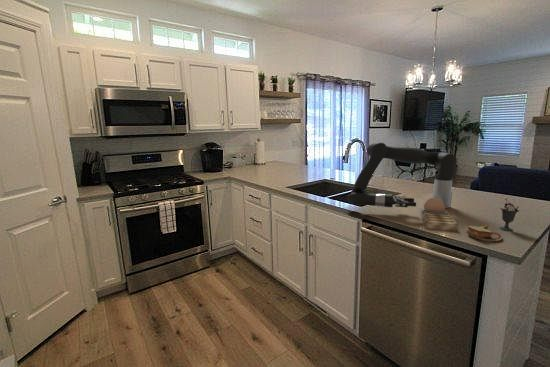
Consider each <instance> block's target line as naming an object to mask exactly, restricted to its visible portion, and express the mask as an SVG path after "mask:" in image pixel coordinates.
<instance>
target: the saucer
mask: <svg viewBox="0 0 550 367" xmlns="http://www.w3.org/2000/svg"><path fill="white" fill-rule="evenodd" d="M423 209H424V210H425V211H429V212H442V213H443V212H444V211H446V208H445V204H444V203H443V201H442V200H440V199H438V198H433V197H431V198H429V199H427V200H426V201H425V202H424V204H423Z"/></svg>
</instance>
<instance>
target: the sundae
mask: <svg viewBox="0 0 550 367" xmlns="http://www.w3.org/2000/svg"><path fill="white" fill-rule="evenodd" d="M504 200H505V203H504V205H503V206H501V207H500V210H501V214H502V215H501V217H502V221H503V222H505V224H504V226H501V227H499V229H500V230H502V231H505V232H513V231H514V229H513V228H511V227H509V225H510V223H512V222H513V221H514V220H515V217H516V214H517V213H519V212H520V210H519V207H520V206H517V207H516V206H515V205H514V204H513V203H511V202H509V200H507V198H505V199H504ZM507 202H508V203H507Z"/></svg>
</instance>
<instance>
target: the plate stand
mask: <svg viewBox="0 0 550 367" xmlns="http://www.w3.org/2000/svg"><path fill="white" fill-rule="evenodd" d="M423 213H428V214H441V215H449V214H448V212H447V211H446V210H445V211H444V212H443V213H442V212H429V211H425V210H424V208H420V213H419V214H420V217H421V218H422V215H423Z"/></svg>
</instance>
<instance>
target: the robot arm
mask: <svg viewBox="0 0 550 367" xmlns="http://www.w3.org/2000/svg"><path fill="white" fill-rule="evenodd" d="M366 153H367V155H368V156H369V159H368V162H367V163H366V164H365V166H364V167H363V169H362V170H361V172H360V173H359V174H358V177H357V178H356V180H355V182H354V186H353V188H352V190H351V192H350V193H349V194H348V196H347V200H348V202H349V203H350V204H351V205H361V206H363V205H366V206H371V207H373V206H374V207H381V208H393V205H394V206H395V208H396V207H397V208H408V207H414V208H415V207H417V202H415V198H413V197H407V196H403V195H402V196H401V195H393V194H392V193H365V191H366V190H367V187H368V186H369V183H370V181H371V179H372V177H373V175H374V173H375V172H376V170H377V168H379V165H380V164H381V163H382V161H383V159H388V160H391V161H392V160H393V161H397V162H401V163H406V164H414V165H415V164H417V165H419V164H427V165H430V166H435V167H438V168H439V172H438V173H435V175H434V183H433V191H432V198H438V199H440V200H442V201H443V203H444V204H445V209H449V208H451V206H452V197H453V191H452V188H453V186H452V185H453V179H454V176H455V174H456V170H457V169H456V168H457V163H458V158H457V156H456V155H455V154H454V153H450V152H444V151H441V152H440V151H439V152H438V151H435V152H434V151H428V150H427V151H426V150H424V149H421V148H416V147H410V146H409V147H408V146H388V145H387V144H385V143H384V142H373V143H371V144H369V145H368V146H367V149H366Z"/></svg>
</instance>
